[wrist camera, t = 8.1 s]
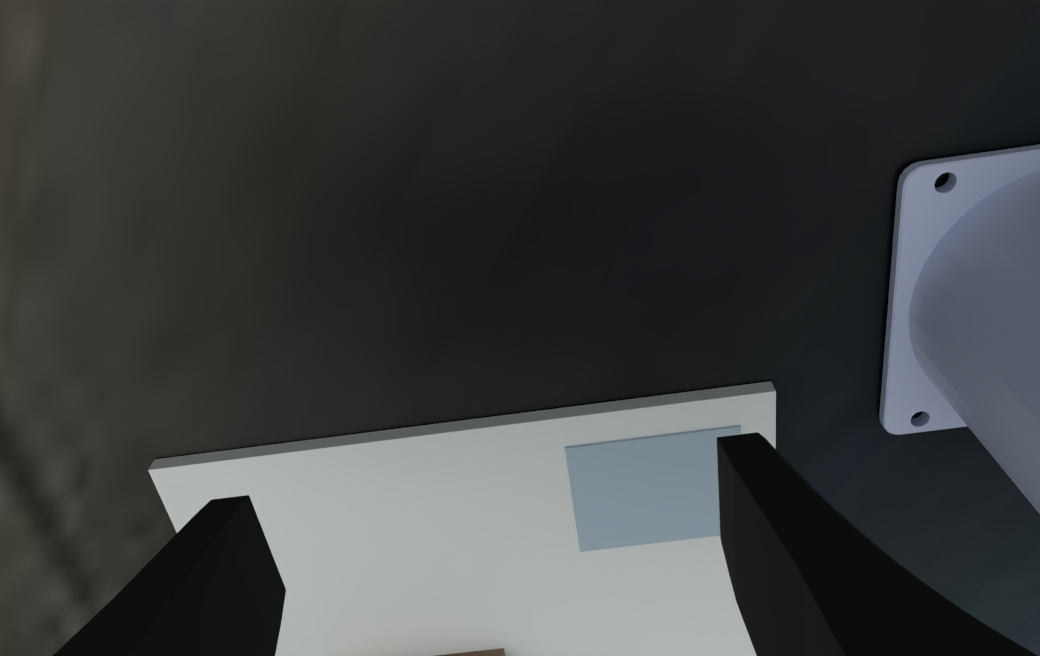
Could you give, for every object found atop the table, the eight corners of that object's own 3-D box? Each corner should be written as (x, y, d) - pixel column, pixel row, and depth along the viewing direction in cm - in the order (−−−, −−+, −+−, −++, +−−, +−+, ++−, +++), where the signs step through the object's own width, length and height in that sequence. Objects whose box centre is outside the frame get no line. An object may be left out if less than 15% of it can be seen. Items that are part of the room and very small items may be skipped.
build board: (770, 381, 23) (776, 393, 23) (770, 738, 31) (774, 753, 31) (154, 459, 25) (146, 472, 24) (301, 785, 32) (298, 800, 32)
